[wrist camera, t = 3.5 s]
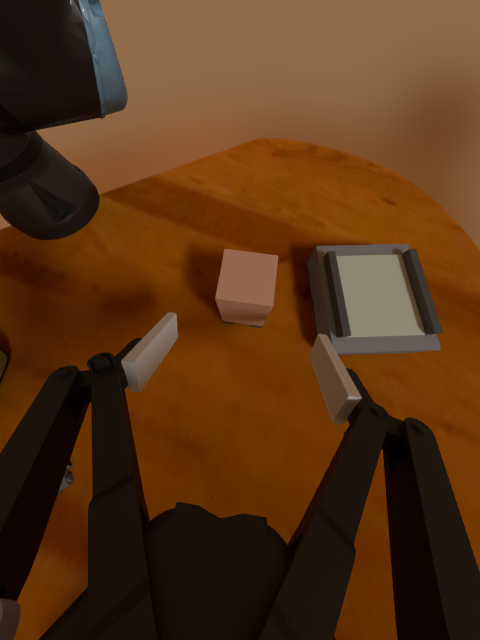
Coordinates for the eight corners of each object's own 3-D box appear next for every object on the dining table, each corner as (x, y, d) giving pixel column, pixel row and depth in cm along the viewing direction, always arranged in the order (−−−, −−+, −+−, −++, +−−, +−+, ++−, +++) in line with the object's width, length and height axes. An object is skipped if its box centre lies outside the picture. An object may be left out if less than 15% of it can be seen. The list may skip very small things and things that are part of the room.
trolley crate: (261, 327, 28) (273, 306, 19) (223, 322, 28) (215, 298, 19) (265, 292, 30) (278, 255, 20) (229, 287, 30) (224, 248, 20)
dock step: (306, 261, 31) (320, 239, 26) (386, 259, 32) (416, 237, 26) (320, 355, 27) (340, 352, 22) (412, 352, 27) (454, 348, 22)
